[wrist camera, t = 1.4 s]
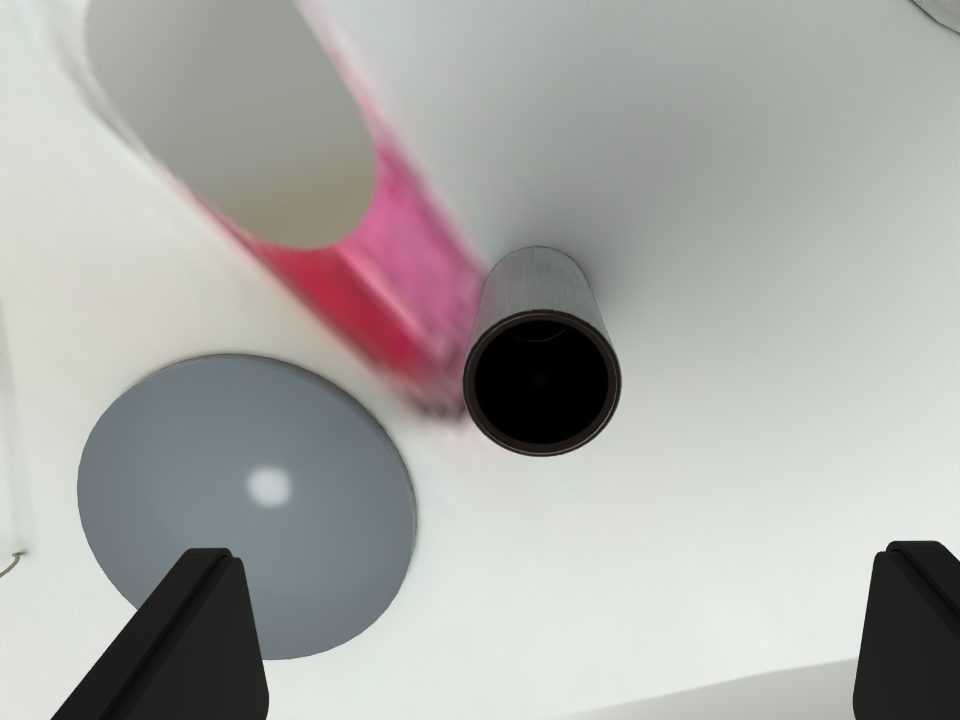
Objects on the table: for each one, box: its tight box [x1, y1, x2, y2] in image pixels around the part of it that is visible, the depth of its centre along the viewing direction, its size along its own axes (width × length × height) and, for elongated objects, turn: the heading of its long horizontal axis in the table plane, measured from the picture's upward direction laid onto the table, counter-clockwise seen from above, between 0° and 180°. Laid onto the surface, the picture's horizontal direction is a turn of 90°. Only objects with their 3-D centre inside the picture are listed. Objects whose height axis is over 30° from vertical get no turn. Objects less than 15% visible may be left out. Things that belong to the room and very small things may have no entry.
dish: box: [77, 354, 416, 660], centre depth 33 cm, size 16×16×1 cm
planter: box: [462, 247, 622, 457], centre depth 24 cm, size 4×4×10 cm
